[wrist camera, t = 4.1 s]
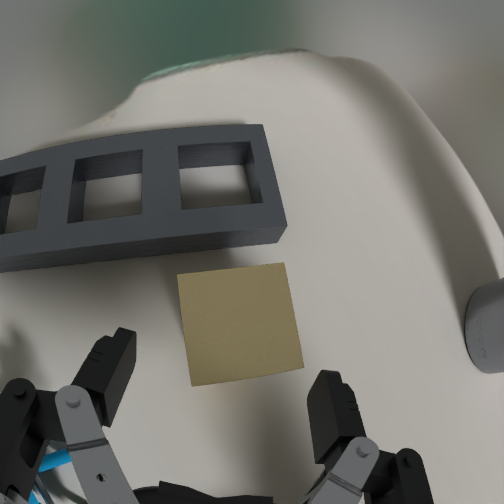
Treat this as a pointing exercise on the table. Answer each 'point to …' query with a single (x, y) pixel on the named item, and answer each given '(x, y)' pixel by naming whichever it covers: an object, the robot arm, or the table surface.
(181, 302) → the brass post
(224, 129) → the grey flat frame block
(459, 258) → the table surface
